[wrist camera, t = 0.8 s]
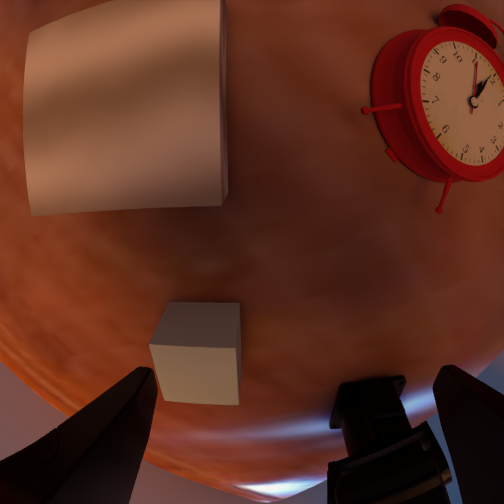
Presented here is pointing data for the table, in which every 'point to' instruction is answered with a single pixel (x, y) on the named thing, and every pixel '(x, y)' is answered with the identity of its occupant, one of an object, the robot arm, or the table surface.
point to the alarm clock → (443, 99)
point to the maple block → (127, 108)
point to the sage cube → (199, 352)
